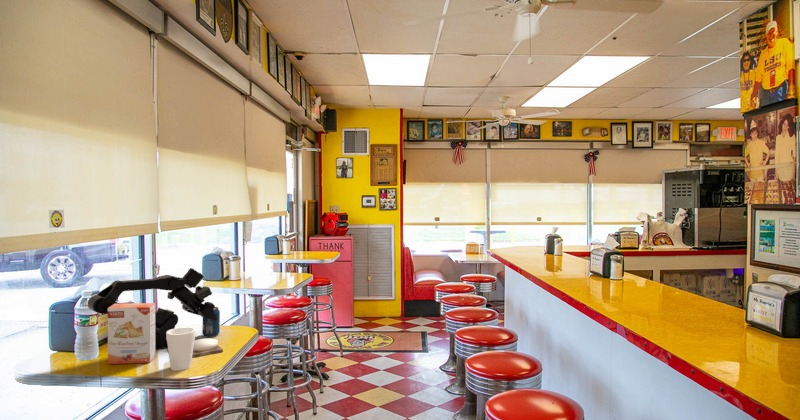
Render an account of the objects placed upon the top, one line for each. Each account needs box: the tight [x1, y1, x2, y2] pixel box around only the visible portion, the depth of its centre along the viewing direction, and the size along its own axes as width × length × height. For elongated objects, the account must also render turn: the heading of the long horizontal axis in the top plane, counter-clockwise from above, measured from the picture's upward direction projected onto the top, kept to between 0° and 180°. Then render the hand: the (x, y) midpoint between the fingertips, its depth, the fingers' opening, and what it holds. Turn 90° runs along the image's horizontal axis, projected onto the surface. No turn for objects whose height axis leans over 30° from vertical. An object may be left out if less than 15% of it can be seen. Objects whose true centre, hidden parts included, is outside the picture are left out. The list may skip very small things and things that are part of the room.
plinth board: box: [192, 337, 224, 359], centre depth 175 cm, size 16×16×3 cm
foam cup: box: [166, 326, 197, 372], centre depth 156 cm, size 10×9×13 cm
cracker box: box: [107, 302, 156, 365], centre depth 161 cm, size 14×6×21 cm, turn 100°
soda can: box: [201, 306, 221, 338], centre depth 195 cm, size 7×7×12 cm
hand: (211, 317), depth 195 cm, fingers open, 9 cm apart
